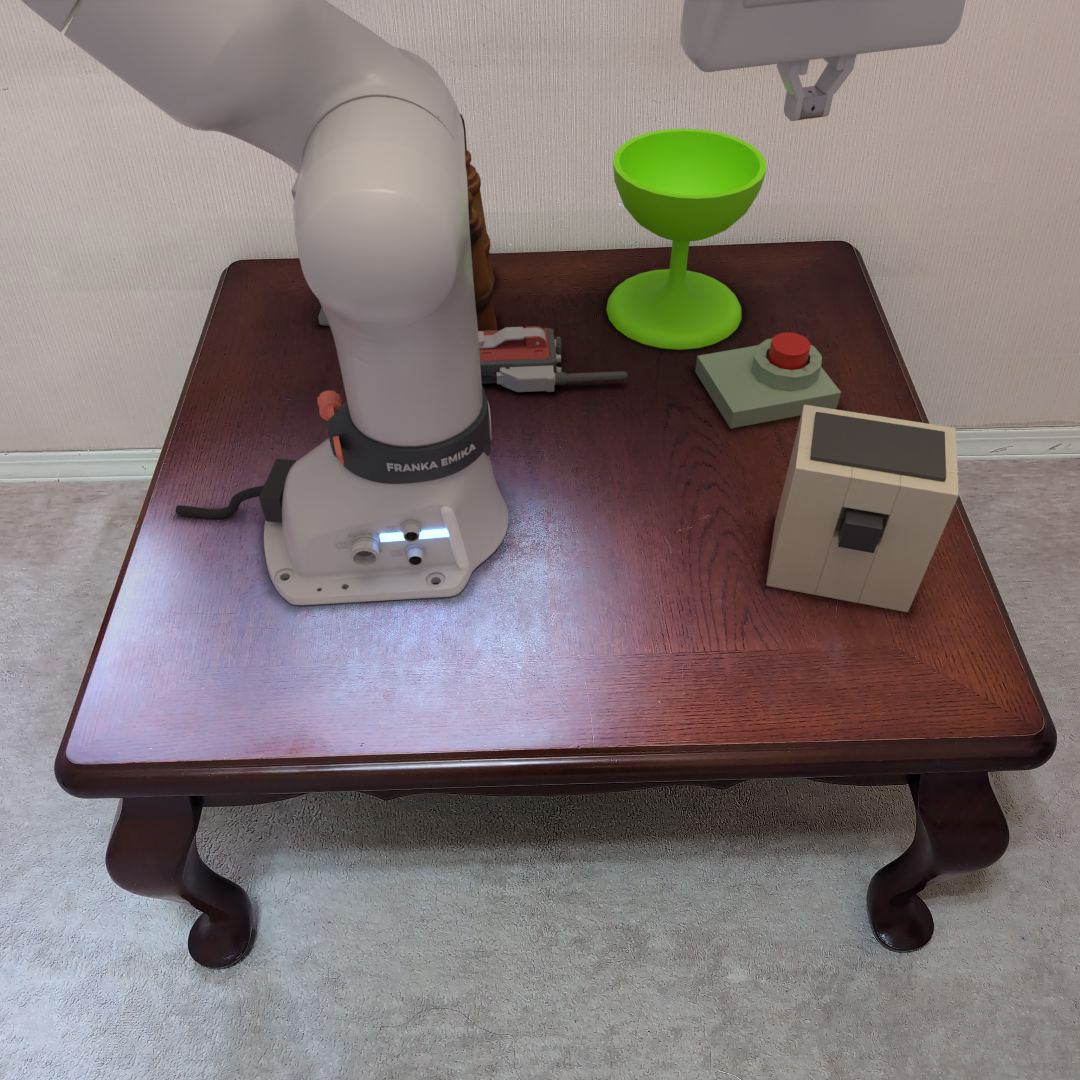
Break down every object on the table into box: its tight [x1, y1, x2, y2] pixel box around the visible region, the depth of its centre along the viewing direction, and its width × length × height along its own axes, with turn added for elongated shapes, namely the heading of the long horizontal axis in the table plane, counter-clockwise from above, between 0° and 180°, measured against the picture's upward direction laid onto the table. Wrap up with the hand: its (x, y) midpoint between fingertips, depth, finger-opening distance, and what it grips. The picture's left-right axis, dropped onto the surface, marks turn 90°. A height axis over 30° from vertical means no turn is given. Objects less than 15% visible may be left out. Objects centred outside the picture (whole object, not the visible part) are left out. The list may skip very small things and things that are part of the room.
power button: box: [838, 508, 883, 553], centre depth 75 cm, size 3×2×3 cm
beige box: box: [765, 405, 960, 613], centre depth 79 cm, size 12×8×14 cm, turn 75°
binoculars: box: [460, 113, 498, 331], centre depth 106 cm, size 18×8×20 cm, turn 4°
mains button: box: [768, 331, 812, 370], centre depth 99 cm, size 4×4×2 cm
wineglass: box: [605, 127, 767, 351], centre depth 106 cm, size 16×16×18 cm
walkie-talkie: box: [478, 325, 629, 393], centre depth 103 cm, size 9×4×20 cm
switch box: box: [694, 338, 842, 429], centre depth 100 cm, size 12×10×4 cm
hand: (805, 116), depth 71 cm, fingers closed
